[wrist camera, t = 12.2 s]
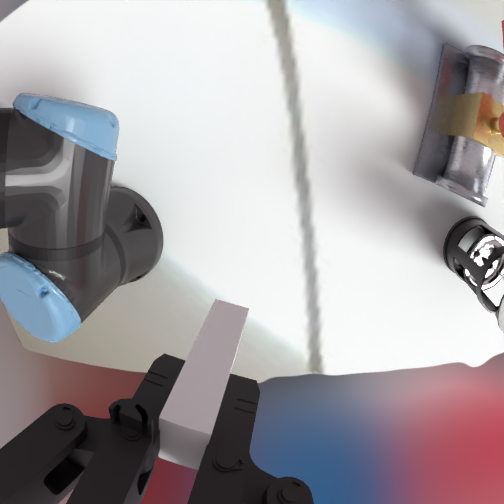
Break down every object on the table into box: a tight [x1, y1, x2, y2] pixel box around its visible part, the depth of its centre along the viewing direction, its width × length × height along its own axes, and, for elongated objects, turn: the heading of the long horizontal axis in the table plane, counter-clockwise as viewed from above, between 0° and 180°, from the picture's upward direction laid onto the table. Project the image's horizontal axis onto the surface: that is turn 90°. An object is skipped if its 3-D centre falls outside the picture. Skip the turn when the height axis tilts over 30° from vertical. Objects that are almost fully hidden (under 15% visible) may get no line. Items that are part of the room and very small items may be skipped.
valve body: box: [413, 43, 504, 207], centre depth 27 cm, size 20×12×10 cm, turn 167°
